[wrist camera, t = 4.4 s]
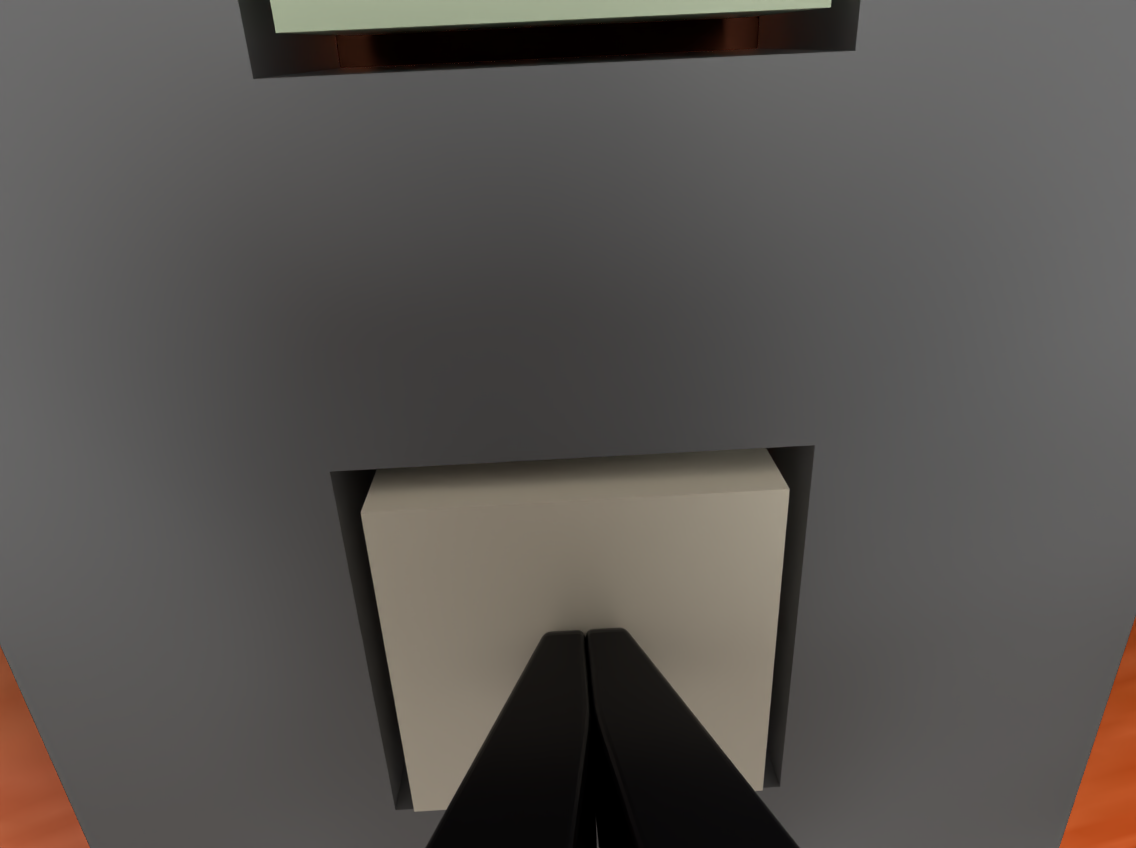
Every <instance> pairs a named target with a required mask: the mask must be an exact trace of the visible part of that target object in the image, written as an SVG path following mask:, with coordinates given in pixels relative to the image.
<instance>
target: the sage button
mask: <svg viewBox="0 0 1136 848" xmlns="http://www.w3.org/2000/svg"><path fill="white" fill-rule="evenodd" d="M270 3H271V9H272V14H273V20H274V25H275V31H276V33H291V34H317V35H342V36H355V35H377V34H399V33H420V32H442V31H464V30H485V29H507V28H529V27H550V26H572V25H594V24H615V23H637V22H659V21H680V20H702V19H724V18H745V17H755V16H764V15H772V14H780V13H788V12H796V11H805V10H813V9H821V8H829V7H831V0H270Z"/></svg>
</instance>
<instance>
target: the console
mask: <svg viewBox="0 0 1136 848" xmlns="http://www.w3.org/2000/svg"><path fill="white" fill-rule="evenodd" d="M754 448H766V449H767V450H768V452H769V454H770V456H771V457H772V459H773V461H774V463H775V464H776V466H777V468H778V470H779V471H780V473H781V475H782V477H783V478H784V480H785V482H786V484H787V485H788V487H789V489H790V491H789V502H788V513H787V524H786V536H785V547H784V558H783V569H782V580H781V591H780V603H779V614H778V625H777V636H776V647H775V658H774V670H773V681H772V692H771V703H770V714H769V725H768V737H767V748H766V759H765V770H764V781H763V791H755V792H756V793H757V794H758V796H759V797H760V798H761V799H762V801H763V802H764V803H765V804H766V806H767V807H768V808H769V809H770V811H771V812H772V813H773V814H774V816H775V817H776V818H777V820H778V821H779V822H780V823H781V825H782V826H783V827H784V828H785V830H786V831H787V832H788V833H789V835H790V836H791V837H792V838H793V840H794V841H795V842H796V843H797V845H798V846H799V847H800V848H1059V846H1060V843H1061V840H1062V837H1063V834H1064V831H1065V828H1066V825H1067V822H1068V819H1069V816H1070V813H1071V810H1072V807H1073V804H1074V801H1075V798H1076V795H1077V792H1078V789H1079V786H1080V783H1081V780H1082V777H1083V774H1084V771H1085V768H1086V765H1087V762H1088V759H1089V756H1090V752H1091V749H1092V746H1093V743H1094V740H1095V737H1096V734H1097V731H1098V728H1099V725H1100V722H1101V719H1102V716H1103V713H1104V710H1105V707H1106V704H1107V701H1108V698H1109V695H1110V692H1111V689H1112V686H1113V683H1114V680H1115V677H1116V674H1117V671H1118V668H1119V665H1120V662H1121V659H1122V656H1123V653H1124V650H1125V647H1126V644H1127V641H1128V638H1129V635H1130V632H1131V629H1132V626H1133V622H1134V619H1135V616H1136V0H831V7H829V8H821V9H813V10H805V11H796V12H788V13H780V14H772V15H764V16H759V30H758V48H757V49H736V50H714V51H693V52H671V53H650V54H629V55H607V56H586V57H565V58H543V59H522V60H500V61H479V62H458V63H436V64H415V65H393V66H372V67H351V68H340V63H339V56H338V49H337V43H336V36H335V35H317V34H291V33H276V31H275V25H274V20H273V14H272V9H271V3H270V0H0V646H1V648H2V650H3V653H4V655H5V657H6V659H7V662H8V664H9V666H10V668H11V671H12V673H13V675H14V677H15V680H16V682H17V684H18V686H19V689H20V691H21V693H22V695H23V698H24V700H25V702H26V704H27V707H28V709H29V711H30V713H31V716H32V718H33V720H34V722H35V725H36V727H37V729H38V731H39V734H40V736H41V738H42V740H43V743H44V745H45V747H46V749H47V752H48V754H49V756H50V758H51V761H52V763H53V765H54V767H55V770H56V772H57V774H58V776H59V779H60V781H61V783H62V785H63V788H64V790H65V792H66V794H67V797H68V799H69V801H70V803H71V806H72V808H73V810H74V812H75V815H76V817H77V819H78V821H79V824H80V826H81V828H82V830H83V833H84V835H85V837H86V839H87V842H88V844H89V846H90V848H425V847H426V845H427V843H428V842H429V840H430V838H431V836H432V834H433V833H434V831H435V829H436V827H437V825H438V824H439V822H440V820H441V818H442V816H443V815H444V813H445V811H446V810H435V811H418V812H414V807H413V802H412V796H411V790H410V785H409V779H408V774H407V768H406V763H405V757H404V752H403V746H402V740H401V735H400V729H399V724H398V718H397V713H396V707H395V702H394V696H393V690H392V685H391V679H390V674H389V668H388V663H387V657H386V652H385V646H384V640H383V635H382V629H381V624H380V618H379V613H378V607H377V602H376V596H375V590H374V585H373V579H372V574H371V568H370V563H369V557H368V552H367V546H366V541H365V535H364V529H363V524H362V518H361V510H362V508H363V505H364V502H365V499H366V497H367V494H368V491H369V489H370V486H371V483H372V481H373V478H374V475H375V473H376V470H377V469H386V468H405V467H423V466H441V465H460V464H478V463H497V462H515V461H533V460H552V459H570V458H589V457H607V456H625V455H644V454H662V453H681V452H699V451H717V450H736V449H754ZM596 831H597V825H596ZM597 848H598V837H597Z"/></svg>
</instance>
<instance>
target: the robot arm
mask: <svg viewBox="0 0 1136 848" xmlns="http://www.w3.org/2000/svg"><path fill="white" fill-rule="evenodd" d="M596 825H597V831H596ZM597 837H598V848H800V847H799V846H798V845H797V843H796V842H795V841H794V840H793V838H792V837H791V836H790V835H789V833H788V832H787V831H786V830H785V828H784V827H783V826H782V825H781V823H780V822H779V821H778V820H777V818H776V817H775V816H774V814H773V813H772V812H771V811H770V809H769V808H768V807H767V806H766V804H765V803H764V802H763V801H762V799H761V798H760V797H759V796H758V794H757V793H756V792H755V791H754V789H753V788H752V787H751V786H750V784H749V783H748V782H747V780H746V779H745V778H744V777H743V775H742V774H741V773H740V772H739V770H738V769H737V768H736V767H735V765H734V764H733V763H732V762H731V760H730V759H729V758H728V757H727V755H726V754H725V753H724V751H723V750H722V749H721V748H720V746H719V745H718V744H717V743H716V741H715V740H714V739H713V738H712V736H711V735H710V734H709V733H708V731H707V730H706V729H705V728H704V726H703V725H702V724H701V723H700V721H699V720H698V719H697V717H696V716H695V715H694V714H693V712H692V711H691V710H690V709H689V707H688V706H687V705H686V704H685V702H684V701H683V700H682V699H681V697H680V696H679V695H678V694H677V692H676V691H675V690H674V688H673V687H672V686H671V685H670V683H669V682H668V681H667V680H666V678H665V677H664V676H663V675H662V673H661V672H660V671H659V670H658V668H657V667H656V666H655V665H654V663H653V662H652V661H651V660H650V658H649V657H648V656H647V654H646V653H645V652H644V651H643V649H642V648H641V647H640V646H639V644H638V643H637V642H636V641H635V639H634V638H633V637H632V636H631V634H630V633H629V632H628V631H627V630H626V629H624V628H620V627H618V628H601V629H590V630H589V631H587V633H586V637H585V635H584V633H583V632H582V631H580V630H566V631H550V632H547V633H545V634H544V635H543V636H542V638H541V639H540V641H539V643H538V645H537V647H536V648H535V650H534V652H533V654H532V656H531V657H530V659H529V661H528V663H527V665H526V666H525V668H524V670H523V672H522V674H521V675H520V677H519V679H518V681H517V683H516V685H515V686H514V688H513V690H512V692H511V694H510V695H509V697H508V699H507V701H506V703H505V704H504V706H503V708H502V710H501V712H500V713H499V715H498V717H497V719H496V721H495V722H494V724H493V726H492V728H491V730H490V731H489V733H488V735H487V737H486V739H485V741H484V742H483V744H482V746H481V748H480V750H479V751H478V753H477V755H476V757H475V759H474V760H473V762H472V764H471V766H470V768H469V769H468V771H467V773H466V775H465V777H464V778H463V780H462V782H461V784H460V786H459V787H458V789H457V791H456V793H455V795H454V797H453V798H452V800H451V802H450V804H449V806H448V807H447V809H446V811H445V813H444V815H443V816H442V818H441V820H440V822H439V824H438V825H437V827H436V829H435V831H434V833H433V834H432V836H431V838H430V840H429V842H428V843H427V845H426V847H425V848H597Z"/></svg>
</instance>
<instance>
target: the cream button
mask: <svg viewBox="0 0 1136 848" xmlns="http://www.w3.org/2000/svg"><path fill="white" fill-rule="evenodd" d="M789 491H790V489H789V487H788V485H787V484H786V482H785V480H784V478H783V477H782V475H781V473H780V471H779V470H778V468H777V466H776V464H775V463H774V461H773V459H772V457H771V456H770V454H769V452H768V450H767V449H766V448H754V449H736V450H717V451H699V452H681V453H662V454H644V455H625V456H607V457H589V458H570V459H552V460H533V461H515V462H497V463H478V464H460V465H441V466H423V467H405V468H386V469H377V470H376V473H375V475H374V478H373V481H372V483H371V486H370V489H369V491H368V494H367V497H366V499H365V502H364V505H363V508H362V510H361V518H362V524H363V529H364V535H365V541H366V546H367V552H368V557H369V563H370V568H371V574H372V579H373V585H374V590H375V596H376V602H377V607H378V613H379V618H380V624H381V629H382V635H383V640H384V646H385V652H386V657H387V663H388V668H389V674H390V679H391V685H392V690H393V696H394V702H395V707H396V713H397V718H398V724H399V729H400V735H401V740H402V746H403V752H404V757H405V763H406V768H407V774H408V779H409V785H410V790H411V796H412V802H413V807H414V812H418V811H435V810H446V809H447V807H448V806H449V804H450V802H451V800H452V798H453V797H454V795H455V793H456V791H457V789H458V787H459V786H460V784H461V782H462V780H463V778H464V777H465V775H466V773H467V771H468V769H469V768H470V766H471V764H472V762H473V760H474V759H475V757H476V755H477V753H478V751H479V750H480V748H481V746H482V744H483V742H484V741H485V739H486V737H487V735H488V733H489V731H490V730H491V728H492V726H493V724H494V722H495V721H496V719H497V717H498V715H499V713H500V712H501V710H502V708H503V706H504V704H505V703H506V701H507V699H508V697H509V695H510V694H511V692H512V690H513V688H514V686H515V685H516V683H517V681H518V679H519V677H520V675H521V674H522V672H523V670H524V668H525V666H526V665H527V663H528V661H529V659H530V657H531V656H532V654H533V652H534V650H535V648H536V647H537V645H538V643H539V641H540V639H541V638H542V636H543V635H544V634H545V633H547V632H550V631H566V630H580V631H582V632H583V633H584V635H585V637H586V633H587V631H589V630H590V629H601V628H618V627H620V628H624V629H626V630H627V631H628V632H629V633H630V634H631V636H632V637H633V638H634V639H635V641H636V642H637V643H638V644H639V646H640V647H641V648H642V649H643V651H644V652H645V653H646V654H647V656H648V657H649V658H650V660H651V661H652V662H653V663H654V665H655V666H656V667H657V668H658V670H659V671H660V672H661V673H662V675H663V676H664V677H665V678H666V680H667V681H668V682H669V683H670V685H671V686H672V687H673V688H674V690H675V691H676V692H677V694H678V695H679V696H680V697H681V699H682V700H683V701H684V702H685V704H686V705H687V706H688V707H689V709H690V710H691V711H692V712H693V714H694V715H695V716H696V717H697V719H698V720H699V721H700V723H701V724H702V725H703V726H704V728H705V729H706V730H707V731H708V733H709V734H710V735H711V736H712V738H713V739H714V740H715V741H716V743H717V744H718V745H719V746H720V748H721V749H722V750H723V751H724V753H725V754H726V755H727V757H728V758H729V759H730V760H731V762H732V763H733V764H734V765H735V767H736V768H737V769H738V770H739V772H740V773H741V774H742V775H743V777H744V778H745V779H746V780H747V782H748V783H749V784H750V786H751V787H752V788H753V789H754V791H763V781H764V770H765V759H766V748H767V737H768V725H769V714H770V703H771V692H772V681H773V670H774V658H775V647H776V636H777V625H778V614H779V603H780V591H781V580H782V569H783V558H784V547H785V536H786V524H787V513H788V502H789Z"/></svg>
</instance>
